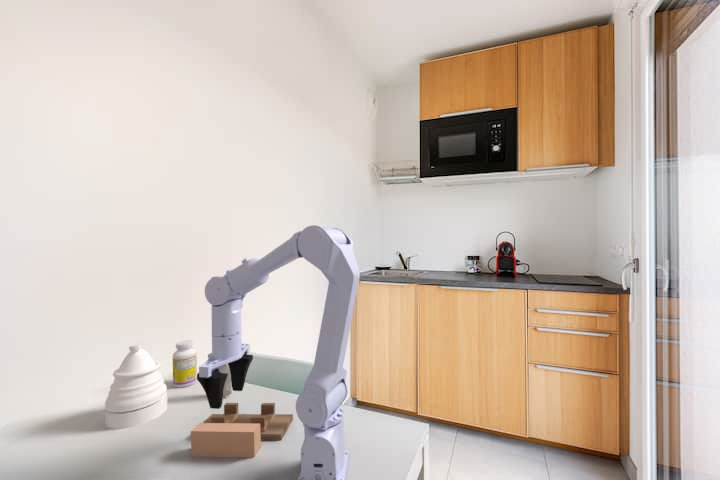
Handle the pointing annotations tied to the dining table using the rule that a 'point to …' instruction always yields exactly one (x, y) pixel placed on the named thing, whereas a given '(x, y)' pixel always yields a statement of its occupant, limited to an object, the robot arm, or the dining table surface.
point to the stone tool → (227, 386)
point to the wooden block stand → (256, 420)
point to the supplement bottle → (184, 364)
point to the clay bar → (226, 439)
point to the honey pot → (136, 391)
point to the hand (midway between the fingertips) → (227, 398)
